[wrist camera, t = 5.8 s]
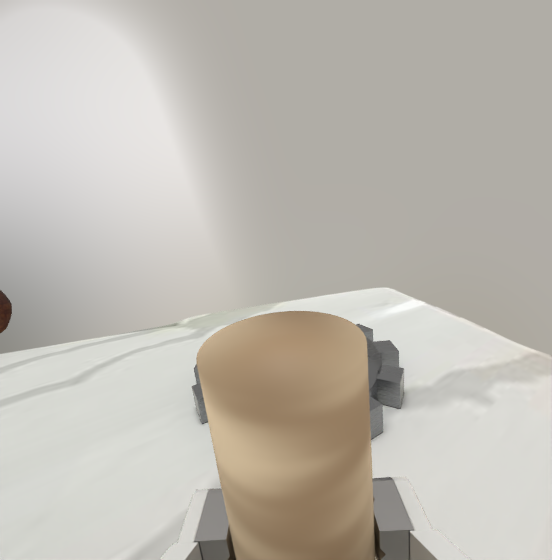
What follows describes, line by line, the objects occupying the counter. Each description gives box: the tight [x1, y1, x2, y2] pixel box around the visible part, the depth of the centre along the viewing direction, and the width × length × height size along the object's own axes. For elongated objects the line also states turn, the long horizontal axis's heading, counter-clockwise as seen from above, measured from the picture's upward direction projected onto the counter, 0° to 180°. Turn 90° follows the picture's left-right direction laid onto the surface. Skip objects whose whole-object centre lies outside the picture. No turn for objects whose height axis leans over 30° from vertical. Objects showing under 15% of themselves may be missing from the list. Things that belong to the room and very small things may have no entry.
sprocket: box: [192, 324, 404, 439], centre depth 29 cm, size 22×22×3 cm
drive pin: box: [197, 311, 376, 560], centre depth 9 cm, size 4×4×14 cm
